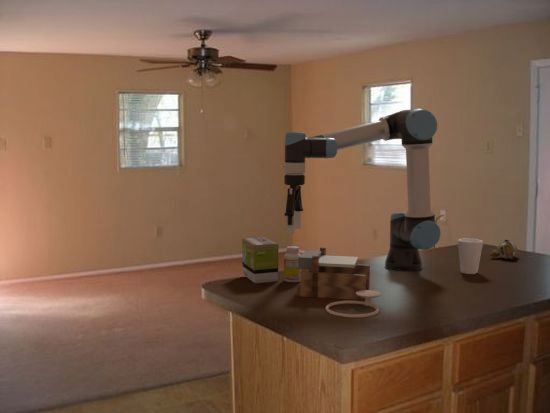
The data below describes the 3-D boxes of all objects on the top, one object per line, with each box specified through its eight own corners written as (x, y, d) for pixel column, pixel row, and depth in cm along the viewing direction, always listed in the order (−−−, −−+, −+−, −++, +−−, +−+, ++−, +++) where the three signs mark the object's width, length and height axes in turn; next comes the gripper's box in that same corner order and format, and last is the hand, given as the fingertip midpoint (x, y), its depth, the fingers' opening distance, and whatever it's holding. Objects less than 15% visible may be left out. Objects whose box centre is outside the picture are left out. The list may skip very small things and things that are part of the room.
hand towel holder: (314, 297, 199) (356, 286, 213) (314, 310, 200) (356, 299, 214) (355, 307, 187) (397, 295, 201) (355, 322, 187) (397, 309, 201)
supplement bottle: (289, 278, 243) (289, 245, 241) (304, 280, 239) (305, 246, 238) (280, 281, 237) (280, 247, 236) (296, 283, 234) (296, 249, 232)
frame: (369, 287, 228) (370, 249, 226) (365, 300, 211) (366, 259, 209) (306, 284, 233) (306, 246, 231) (297, 296, 216) (297, 255, 214)
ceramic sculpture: (523, 237, 286) (512, 244, 274) (523, 256, 287) (512, 263, 275) (499, 235, 292) (488, 241, 281) (499, 254, 294) (487, 261, 282)
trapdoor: (358, 263, 226) (358, 252, 226) (354, 272, 212) (354, 260, 212) (305, 260, 231) (305, 250, 230) (297, 269, 216) (297, 257, 216)
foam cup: (486, 273, 252) (487, 241, 250) (467, 275, 249) (468, 243, 247) (470, 269, 261) (472, 237, 259) (452, 270, 257) (453, 239, 256)
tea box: (241, 275, 247) (241, 237, 246) (265, 273, 251) (265, 236, 249) (253, 283, 233) (253, 244, 232) (279, 281, 237) (279, 242, 235)
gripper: (291, 171, 246) (290, 225, 249) (277, 175, 222) (276, 235, 224) (310, 172, 245) (309, 226, 247) (298, 176, 220) (297, 236, 223)
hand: (293, 231), depth 236 cm, fingers open, 13 cm apart
